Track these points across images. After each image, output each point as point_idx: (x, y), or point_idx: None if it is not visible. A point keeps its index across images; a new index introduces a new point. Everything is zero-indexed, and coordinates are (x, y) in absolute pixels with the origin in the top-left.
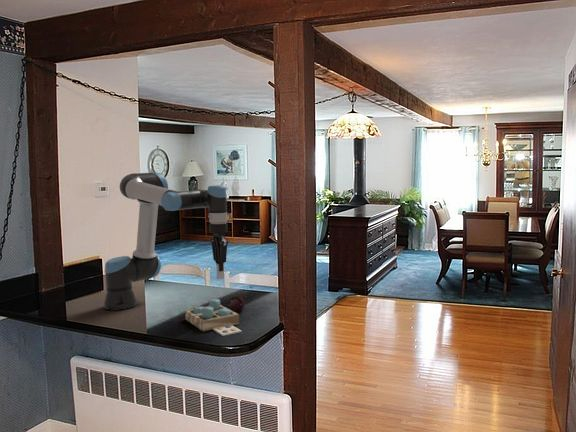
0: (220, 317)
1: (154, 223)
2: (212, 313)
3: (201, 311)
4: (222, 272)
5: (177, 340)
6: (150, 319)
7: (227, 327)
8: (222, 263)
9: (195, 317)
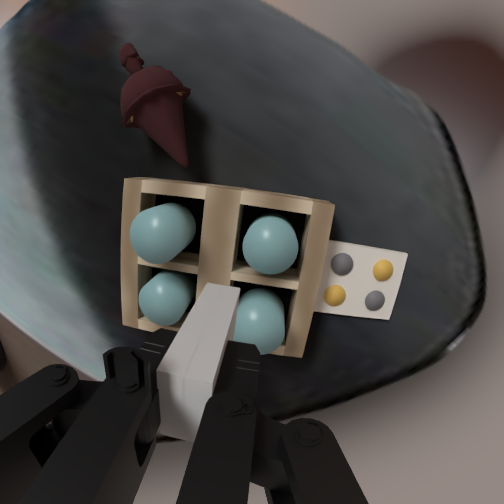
0: (310, 287)
1: None
2: (282, 314)
3: (186, 303)
4: (230, 330)
5: (309, 412)
6: (86, 366)
7: (348, 272)
8: (259, 424)
9: None
